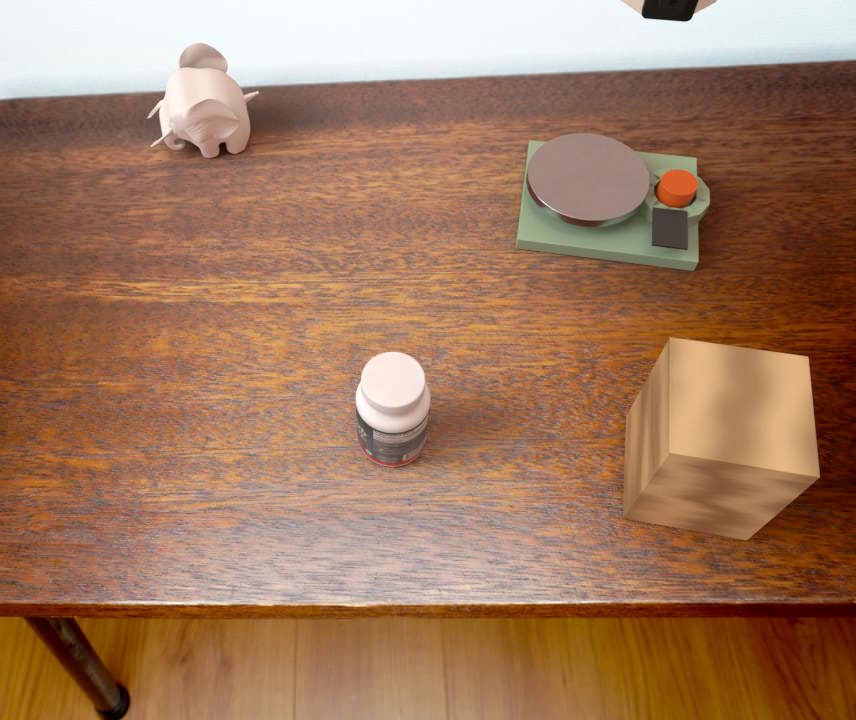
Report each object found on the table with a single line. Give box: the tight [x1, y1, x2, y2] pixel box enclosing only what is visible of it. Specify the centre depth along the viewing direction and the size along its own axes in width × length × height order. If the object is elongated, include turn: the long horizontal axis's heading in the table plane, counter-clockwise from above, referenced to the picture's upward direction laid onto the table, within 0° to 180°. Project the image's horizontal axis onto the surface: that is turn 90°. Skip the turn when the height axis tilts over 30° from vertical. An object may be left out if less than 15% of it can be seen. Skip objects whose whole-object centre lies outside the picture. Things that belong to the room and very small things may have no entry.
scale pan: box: [526, 132, 688, 250], centre depth 76 cm, size 14×12×1 cm
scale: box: [515, 139, 711, 272], centre depth 77 cm, size 17×13×3 cm
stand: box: [622, 336, 821, 541], centre depth 59 cm, size 9×9×12 cm
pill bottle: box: [354, 351, 431, 468], centre depth 63 cm, size 6×6×10 cm
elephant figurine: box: [146, 42, 260, 159], centre depth 83 cm, size 10×12×9 cm
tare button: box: [656, 169, 698, 208], centre depth 75 cm, size 3×3×2 cm
